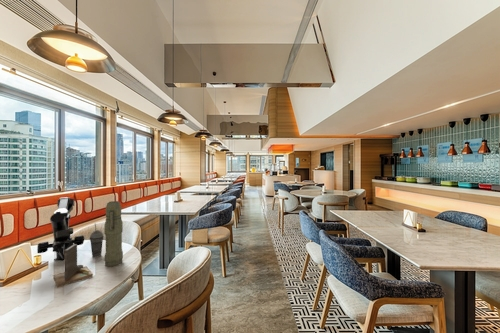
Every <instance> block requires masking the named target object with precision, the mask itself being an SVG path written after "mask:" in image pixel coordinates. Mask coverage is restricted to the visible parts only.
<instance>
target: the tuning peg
mask: <svg viewBox="0 0 500 333" xmlns="http://www.w3.org/2000/svg"><path fill="white" fill-rule="evenodd" d="M63 261H64V263H63V264H64V272H65V281H68V280H69V279H70V278H71V277H72V276H74V275H75V274H76V273H77V272H80V271H81V272H85V273H90V271H91V270H90V269H89V270H87V269H83V267H84V264H79V265H78V245H77V244H74V245H72V246H71V247H69V248H68V249H66V250H64V260H63Z"/></svg>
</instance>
